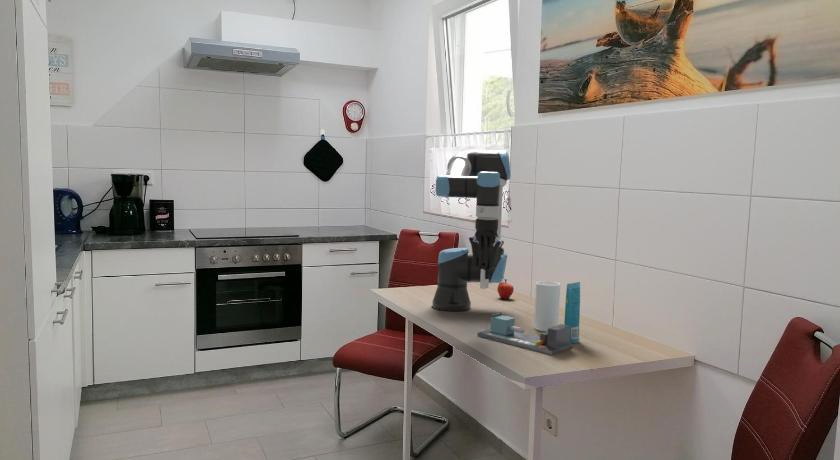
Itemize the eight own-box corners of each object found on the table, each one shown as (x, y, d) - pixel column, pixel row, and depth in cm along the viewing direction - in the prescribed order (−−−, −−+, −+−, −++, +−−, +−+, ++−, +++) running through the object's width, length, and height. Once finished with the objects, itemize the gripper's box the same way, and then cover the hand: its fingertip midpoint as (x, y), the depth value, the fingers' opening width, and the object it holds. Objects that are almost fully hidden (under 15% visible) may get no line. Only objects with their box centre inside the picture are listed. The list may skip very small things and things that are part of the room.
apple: (511, 297, 267) (512, 274, 266) (514, 300, 260) (515, 277, 259) (493, 296, 267) (494, 273, 266) (496, 300, 260) (497, 276, 259)
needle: (533, 345, 189) (533, 335, 189) (544, 341, 194) (545, 331, 194) (538, 346, 188) (539, 337, 188) (550, 342, 193) (550, 333, 193)
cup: (544, 332, 210) (546, 286, 208) (529, 326, 217) (531, 281, 215) (563, 330, 214) (565, 284, 212) (547, 324, 221) (549, 280, 219)
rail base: (477, 335, 203) (478, 314, 202) (498, 329, 212) (499, 309, 211) (552, 355, 184) (553, 331, 183) (572, 347, 193) (573, 324, 192)
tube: (569, 337, 204) (572, 280, 202) (582, 340, 201) (586, 282, 199) (558, 342, 199) (561, 283, 197) (572, 345, 195) (575, 285, 194)
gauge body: (490, 331, 204) (491, 314, 203) (499, 329, 207) (499, 312, 207) (518, 338, 196) (519, 320, 196) (527, 335, 200) (527, 318, 199)
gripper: (464, 217, 207) (462, 286, 210) (496, 220, 198) (493, 292, 201) (478, 216, 212) (475, 283, 215) (509, 219, 204) (506, 289, 207)
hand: (484, 287), depth 208 cm, fingers closed
